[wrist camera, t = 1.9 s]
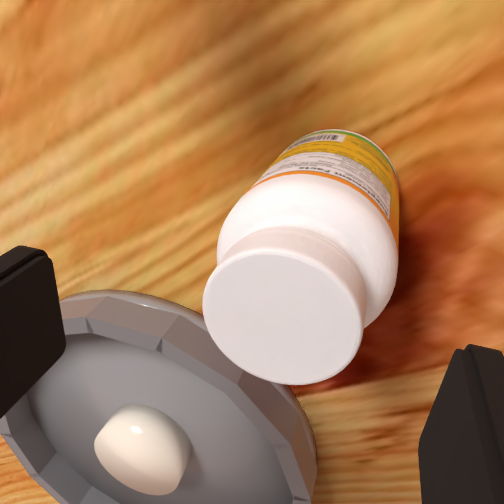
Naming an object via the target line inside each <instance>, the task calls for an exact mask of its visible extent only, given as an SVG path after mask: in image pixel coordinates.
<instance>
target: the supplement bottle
mask: <svg viewBox="0 0 504 504" xmlns="http://www.w3.org/2000/svg"><path fill="white" fill-rule="evenodd" d="M398 243H399V184H398V178H397V175H396V172H395V169H394V167H393V165H392V163H391V161H390V159H389V158H388V157H387V155H386V154H385V153H384V152H383V150H382V149H381V148H379V147H378V146H377V145H376V144H375V143H374V142H372V141H371V140H369V139H368V138H366V137H364V136H362V135H360V134H358V133H354V132H351V131H346V130H340V129H327V130H320V131H316V132H313V133H310V134H307V135H305V136H303V137H301V138H300V139H298V140H296V141H295V142H294V143H292V144H291V145H290V146H289V147H288V148H286V149H285V150H284V151H283V152H282V153H281V154H280V156H279V157H278V158H277V159H276V160H275V161H274V162H273V163H272V164H271V165H270V167H269V168H268V169H267V170H266V171H265V172H264V173H263V174H262V175H261V176H260V177H259V179H258V180H257V181H256V182H255V183H254V184H253V185H252V186H251V187H250V188H249V189H248V190H247V191H246V192H245V194H244V195H243V196H242V197H241V198H240V200H239V201H238V202H237V203H236V205H235V206H234V207H233V209H232V210H231V212H230V213H229V215H228V216H227V218H226V220H225V222H224V224H223V226H222V229H221V232H220V235H219V239H218V245H217V265H218V266H217V267H216V269H215V270H214V271H213V273H212V274H211V276H210V277H209V279H208V282H207V284H206V287H205V290H204V294H203V315H204V320H205V323H206V326H207V329H208V331H209V333H210V335H211V337H212V339H213V340H214V342H215V343H216V345H217V346H218V348H219V349H220V350H221V351H222V352H223V353H224V354H225V355H226V356H227V357H228V358H229V359H230V360H231V361H232V362H233V363H235V364H236V365H237V366H239V367H240V368H242V369H243V370H245V371H247V372H248V373H250V374H252V375H254V376H256V377H259V378H261V379H264V380H267V381H271V382H275V383H280V384H287V385H306V384H312V383H317V382H320V381H323V380H326V379H328V378H330V377H333V376H335V375H336V374H337V373H339V372H340V371H342V370H343V369H344V368H345V367H346V366H347V365H348V364H349V363H350V362H351V361H352V359H353V358H354V356H355V355H356V353H357V351H358V349H359V346H360V344H361V340H362V336H363V330H364V328H365V327H367V326H368V325H369V324H370V323H372V322H373V321H374V320H375V319H376V318H377V317H378V316H379V315H380V313H381V312H382V311H383V310H384V308H385V307H386V305H387V303H388V302H389V300H390V298H391V295H392V293H393V290H394V287H395V283H396V278H397V269H398Z"/></svg>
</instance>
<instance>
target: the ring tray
mask: <svg viewBox="0 0 504 504" xmlns="http://www.w3.org/2000/svg"><path fill="white" fill-rule="evenodd" d="M59 303H60V309H61V314H62V320H63V326H64V332H65V337H66V348H65V351H64V353H63V355H62V356H61V357H60V358H59V359H58V360H57V362H56V363H55V364H54V365H53V366H52V367H51V368H50V369H49V370H48V371H47V372H46V373H45V374H44V375H43V376H42V377H41V378H40V379H39V380H38V381H37V382H36V383H35V384H34V385H33V386H32V387H31V388H30V389H29V390H28V391H27V392H26V393H25V394H24V395H23V396H22V397H21V399H20V400H19V401H18V402H17V403H16V404H15V405H14V406H13V407H12V408H11V409H10V410H9V411H8V412H7V413H6V414H5V415H4V416H3V417H2V418H1V419H0V434H1V435H2V437H3V438H4V440H5V441H6V442H7V444H8V445H9V447H10V448H11V449H12V451H13V452H14V454H15V455H16V457H17V458H18V459H19V461H20V462H21V464H22V465H23V467H24V468H25V469H26V471H27V472H28V474H29V475H30V476H31V477H32V478H33V479H34V480H35V481H36V482H37V483H38V484H39V485H40V486H42V487H43V488H44V489H45V490H46V491H47V492H48V493H49V494H50V495H51V496H52V497H53V498H55V499H56V500H57V501H58V502H59V503H60V504H311V502H312V497H313V491H314V486H315V481H316V476H317V471H318V469H317V455H316V445H315V441H314V437H313V433H312V429H311V427H310V424H309V422H308V420H307V417H306V415H305V413H304V410H303V409H302V407H301V405H300V404H299V402H298V400H297V399H296V397H295V395H294V394H293V392H292V391H291V389H290V388H289V387H288V385H287V384H280V383H275V382H271V381H267V380H264V379H261V378H259V377H256V376H254V375H252V374H250V373H248V372H247V371H245V370H243V369H242V368H240V367H239V366H237V365H236V364H235V363H233V362H232V361H231V360H230V359H229V358H228V357H227V356H226V355H225V354H224V353H223V352H222V351H221V350H220V349H219V348H218V346H217V345H216V343H215V342H214V340H213V339H212V337H211V335H210V333H209V331H208V329H207V326H206V323H205V320H204V316H203V315H202V314H200V313H198V312H195V311H193V310H191V309H189V308H186V307H184V306H182V305H179V304H177V303H174V302H171V301H168V300H165V299H162V298H158V297H155V296H152V295H147V294H142V293H137V292H132V291H122V290H93V291H86V292H81V293H77V294H72V295H70V296H67V297H65V298H63V299H60V300H59Z"/></svg>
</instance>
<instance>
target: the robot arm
mask: <svg viewBox="0 0 504 504" xmlns="http://www.w3.org/2000/svg"><path fill="white" fill-rule="evenodd" d="M65 348H66V337H65V332H64V326H63V320H62V314H61V309H60V303H59V297H58V291H57V286H56V280H55V274H54V268H53V263H52V260H51V259H50V258H48V255H47V253H46V252H45V251H43V250H40V249H36V248H31V247H27V246H17V247H15V248H13V249H11V250H10V251H8V252H6V253H5V254H3V255H1V256H0V419H1V418H2V417H3V416H4V415H5V414H6V413H7V412H8V411H9V410H10V409H11V408H12V407H13V406H14V405H15V404H16V403H17V402H18V401H19V400H20V399H21V397H22V396H23V395H24V394H25V393H26V392H27V391H28V390H29V389H30V388H31V387H32V386H33V385H34V384H35V383H36V382H37V381H38V380H39V379H40V378H41V377H42V376H43V375H44V374H45V373H46V372H47V371H48V370H49V369H50V368H51V367H52V366H53V365H54V364H55V363H56V362H57V360H58V359H59V358H60V357H61V356H62V355H63V353H64V351H65ZM418 456H419V469H420V483H421V496H422V504H504V356H503V354H502V352H501V351H499V350H495V349H491V348H486V347H482V346H477V345H473V344H469V345H467V346H466V348H465V350H462V349H456V350H455V352H454V354H453V356H452V359H451V361H450V364H449V366H448V369H447V371H446V374H445V376H444V379H443V381H442V384H441V386H440V389H439V391H438V394H437V396H436V399H435V401H434V404H433V406H432V409H431V411H430V414H429V416H428V419H427V422H426V424H425V427H424V429H423V432H422V434H421V437H420V441H419V449H418Z"/></svg>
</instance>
